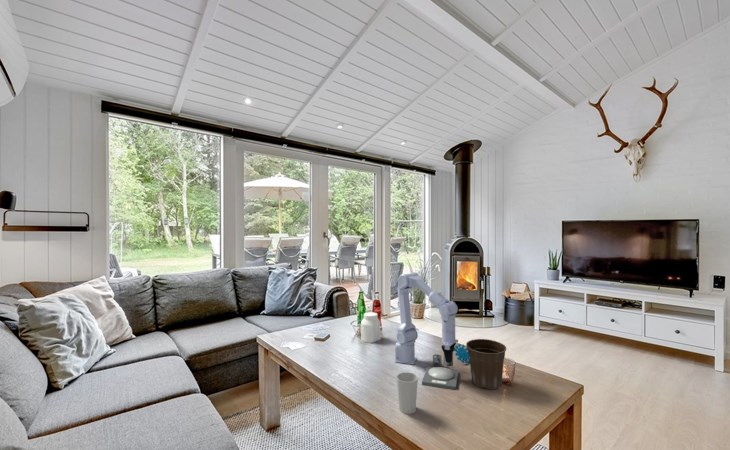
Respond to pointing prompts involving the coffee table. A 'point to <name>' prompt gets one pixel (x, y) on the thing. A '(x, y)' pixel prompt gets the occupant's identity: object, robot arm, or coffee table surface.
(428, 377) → the scale
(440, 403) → the coffee table surface
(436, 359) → the spacer
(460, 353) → the gear
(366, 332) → the jar
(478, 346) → the plant pot
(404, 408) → the cup
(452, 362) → the cylinder
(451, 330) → the robot arm
